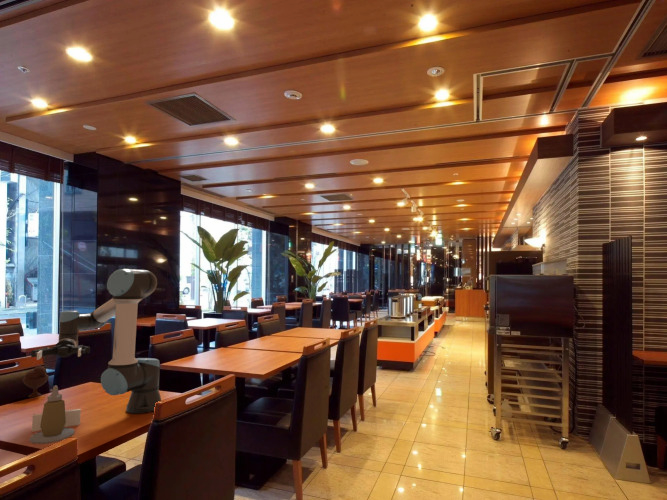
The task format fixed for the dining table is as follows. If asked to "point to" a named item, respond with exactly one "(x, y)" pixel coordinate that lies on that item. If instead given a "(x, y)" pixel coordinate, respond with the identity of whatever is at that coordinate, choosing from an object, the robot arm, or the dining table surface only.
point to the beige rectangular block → (71, 419)
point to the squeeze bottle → (53, 414)
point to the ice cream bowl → (35, 379)
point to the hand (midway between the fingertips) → (58, 354)
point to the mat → (49, 439)
